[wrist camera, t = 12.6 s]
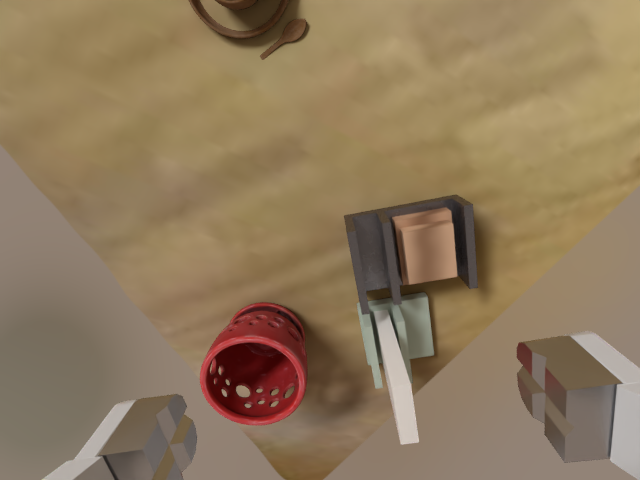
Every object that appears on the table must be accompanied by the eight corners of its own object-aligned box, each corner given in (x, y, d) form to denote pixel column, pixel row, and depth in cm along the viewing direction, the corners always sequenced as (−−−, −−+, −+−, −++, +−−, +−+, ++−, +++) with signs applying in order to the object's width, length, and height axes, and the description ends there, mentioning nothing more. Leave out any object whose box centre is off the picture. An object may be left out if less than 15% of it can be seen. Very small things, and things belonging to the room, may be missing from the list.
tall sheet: (387, 309, 50) (410, 384, 36) (394, 355, 53) (419, 442, 39) (373, 311, 50) (391, 387, 36) (381, 357, 53) (400, 444, 39)
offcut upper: (447, 219, 44) (453, 224, 42) (452, 270, 46) (457, 276, 44) (399, 228, 44) (402, 233, 42) (406, 277, 46) (409, 284, 45)
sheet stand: (424, 291, 51) (438, 315, 45) (431, 349, 54) (444, 378, 48) (356, 303, 52) (360, 328, 46) (367, 358, 55) (371, 389, 49)
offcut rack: (456, 194, 46) (479, 208, 39) (462, 269, 50) (484, 295, 43) (344, 215, 47) (346, 232, 40) (357, 287, 51) (361, 314, 44)
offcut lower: (446, 207, 45) (451, 211, 43) (451, 270, 48) (456, 276, 46) (391, 217, 46) (394, 221, 44) (400, 278, 49) (403, 285, 47)
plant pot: (323, 350, 55) (322, 410, 43) (247, 374, 56) (227, 438, 45) (290, 279, 51) (280, 325, 39) (210, 307, 53) (178, 359, 41)
